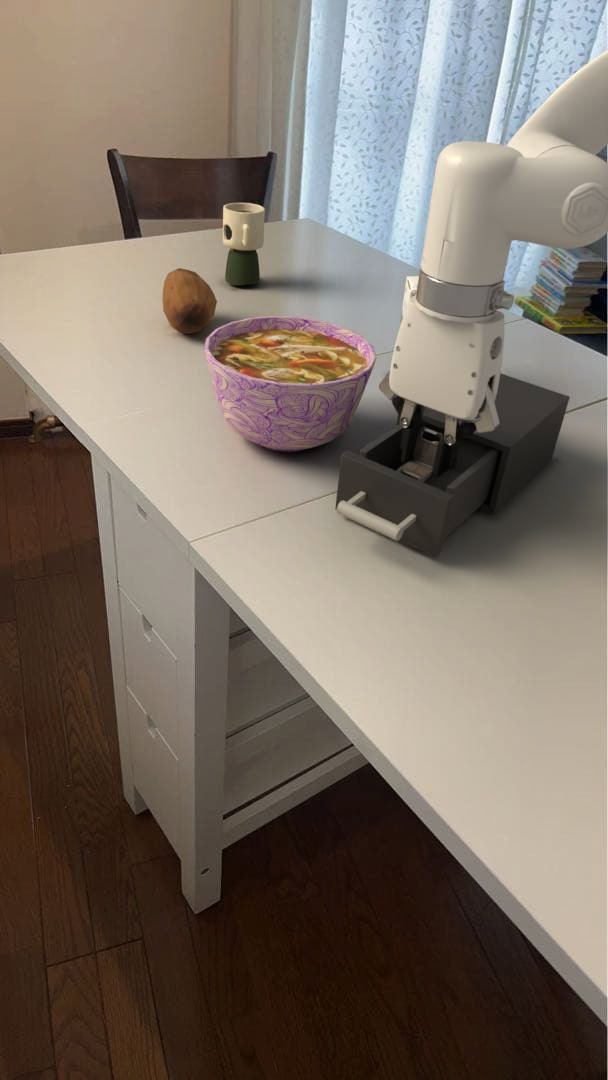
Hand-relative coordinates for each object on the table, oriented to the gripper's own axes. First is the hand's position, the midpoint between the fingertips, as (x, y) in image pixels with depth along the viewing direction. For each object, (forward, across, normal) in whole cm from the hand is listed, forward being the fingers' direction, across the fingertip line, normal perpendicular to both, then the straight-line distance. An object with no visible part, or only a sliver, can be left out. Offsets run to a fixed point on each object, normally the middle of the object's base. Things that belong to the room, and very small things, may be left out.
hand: (426, 463), depth 84 cm
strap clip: (+1, 0, 0) cm, 1 cm away
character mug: (+6, +61, -42) cm, 75 cm away
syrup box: (+6, +17, -28) cm, 34 cm away
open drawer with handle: (+5, 0, +1) cm, 5 cm away
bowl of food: (+6, +21, -3) cm, 22 cm away
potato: (+6, +53, -20) cm, 57 cm away
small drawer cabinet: (+6, 0, -13) cm, 15 cm away
